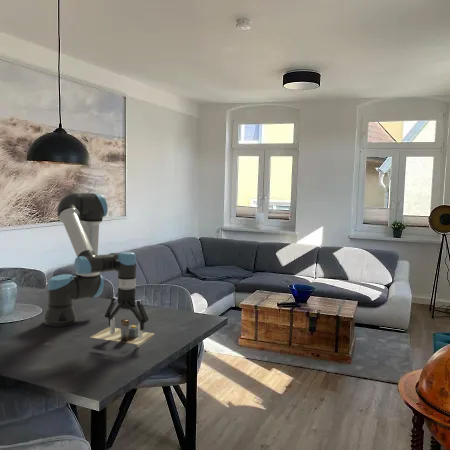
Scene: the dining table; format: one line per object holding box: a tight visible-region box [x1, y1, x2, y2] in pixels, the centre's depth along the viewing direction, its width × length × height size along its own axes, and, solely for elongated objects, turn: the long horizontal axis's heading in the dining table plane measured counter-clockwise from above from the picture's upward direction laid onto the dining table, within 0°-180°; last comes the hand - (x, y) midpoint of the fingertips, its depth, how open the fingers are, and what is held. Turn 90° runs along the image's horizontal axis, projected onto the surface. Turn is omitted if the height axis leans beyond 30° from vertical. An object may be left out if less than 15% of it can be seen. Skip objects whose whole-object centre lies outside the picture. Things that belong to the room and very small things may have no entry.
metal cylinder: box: [120, 318, 130, 343], centre depth 203 cm, size 3×3×9 cm
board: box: [89, 326, 155, 348], centre depth 210 cm, size 24×16×1 cm, turn 73°
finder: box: [129, 324, 138, 338], centre depth 209 cm, size 7×5×5 cm
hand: (126, 335), depth 203 cm, fingers open, 13 cm apart
